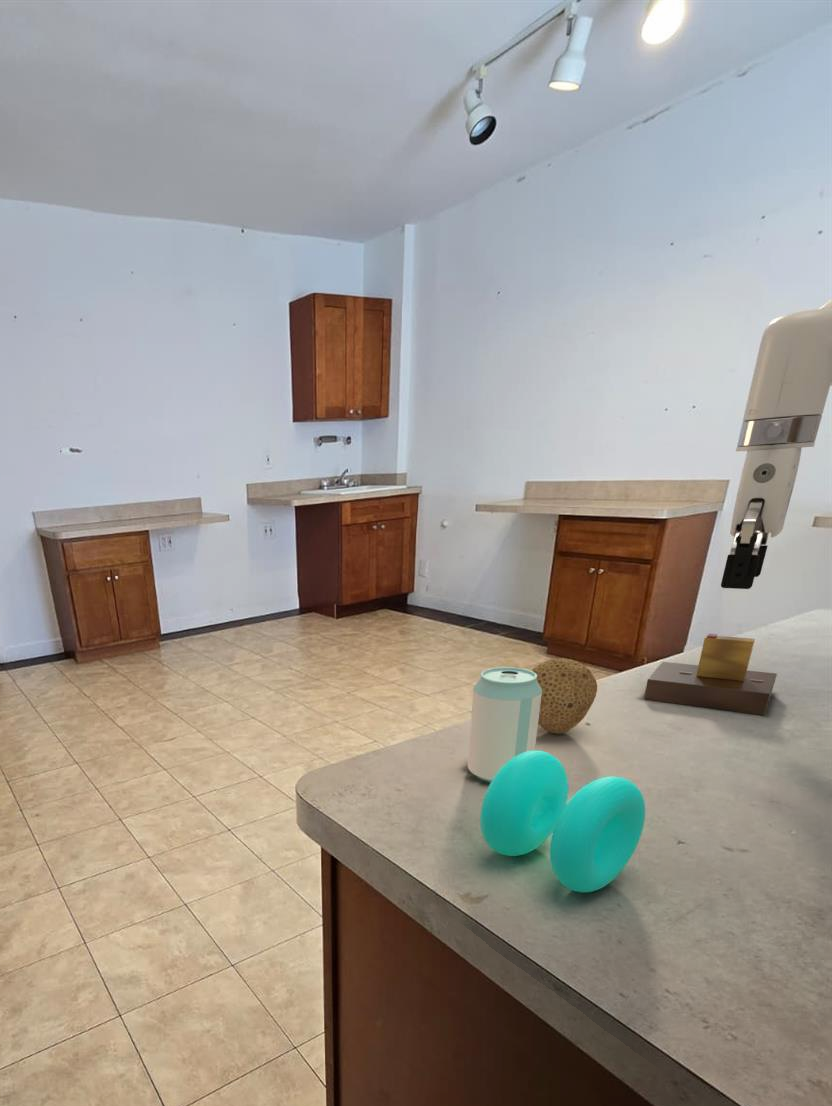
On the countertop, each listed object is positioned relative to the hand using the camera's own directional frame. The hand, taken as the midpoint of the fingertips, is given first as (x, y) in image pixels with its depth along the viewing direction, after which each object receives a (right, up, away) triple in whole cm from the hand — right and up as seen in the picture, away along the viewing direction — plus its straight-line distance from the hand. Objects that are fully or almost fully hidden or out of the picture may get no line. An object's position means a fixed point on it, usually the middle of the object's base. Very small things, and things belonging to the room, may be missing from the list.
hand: (740, 581), depth 84 cm
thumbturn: (+2, -12, +6) cm, 13 cm away
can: (-35, -25, -9) cm, 45 cm away
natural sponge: (-25, -20, 0) cm, 32 cm away
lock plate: (+1, -14, +8) cm, 16 cm away
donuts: (-37, -34, -27) cm, 57 cm away
